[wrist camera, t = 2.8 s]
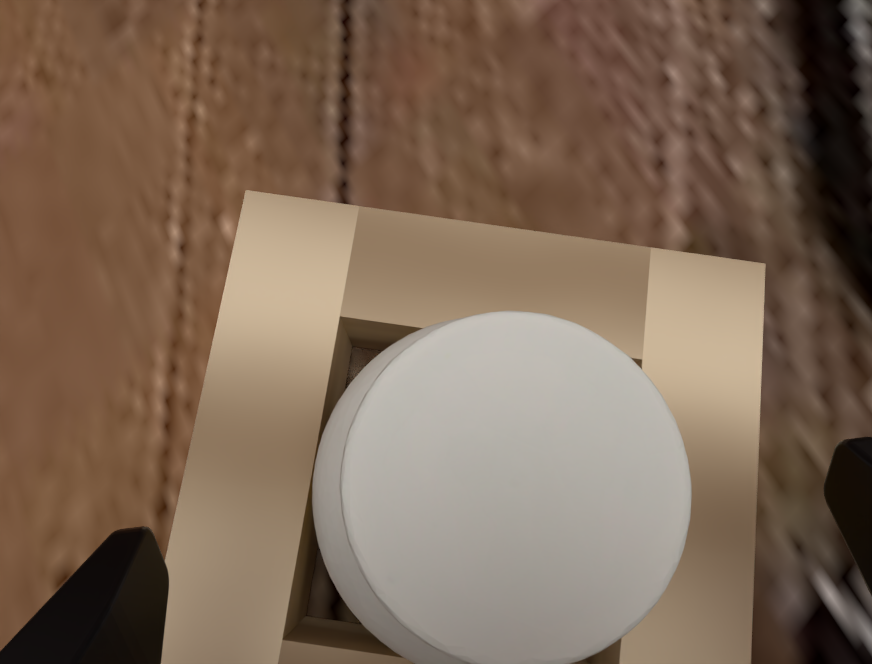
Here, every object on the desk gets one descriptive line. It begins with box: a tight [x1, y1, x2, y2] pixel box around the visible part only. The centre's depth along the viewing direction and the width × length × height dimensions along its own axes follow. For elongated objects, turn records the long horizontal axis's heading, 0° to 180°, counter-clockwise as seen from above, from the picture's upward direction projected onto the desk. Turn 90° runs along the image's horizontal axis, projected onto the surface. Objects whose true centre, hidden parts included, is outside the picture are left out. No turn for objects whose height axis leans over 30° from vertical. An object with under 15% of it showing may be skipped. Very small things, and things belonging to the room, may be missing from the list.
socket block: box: [161, 190, 765, 664], centre depth 16 cm, size 11×11×3 cm
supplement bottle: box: [312, 311, 692, 664], centre depth 13 cm, size 5×5×10 cm
